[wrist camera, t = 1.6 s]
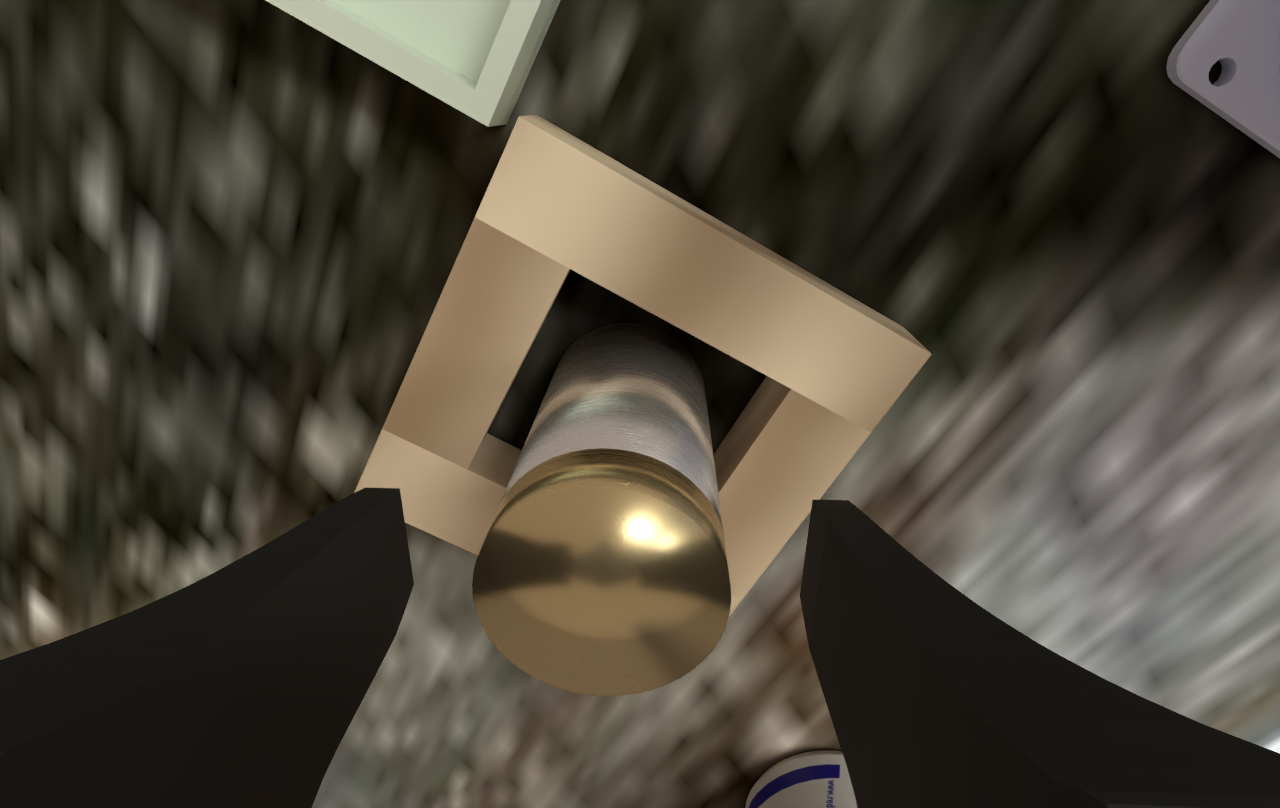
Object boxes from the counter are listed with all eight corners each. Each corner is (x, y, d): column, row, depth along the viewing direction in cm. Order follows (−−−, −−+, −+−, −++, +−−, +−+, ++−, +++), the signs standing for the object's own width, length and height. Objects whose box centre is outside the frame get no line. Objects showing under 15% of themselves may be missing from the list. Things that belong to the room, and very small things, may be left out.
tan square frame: (903, 326, 17) (931, 353, 15) (695, 606, 21) (698, 656, 19) (536, 114, 15) (518, 116, 13) (382, 459, 19) (352, 498, 17)
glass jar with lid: (734, 369, 18) (782, 560, 10) (657, 487, 19) (651, 728, 12) (595, 294, 17) (540, 440, 10) (526, 422, 18) (433, 634, 11)
